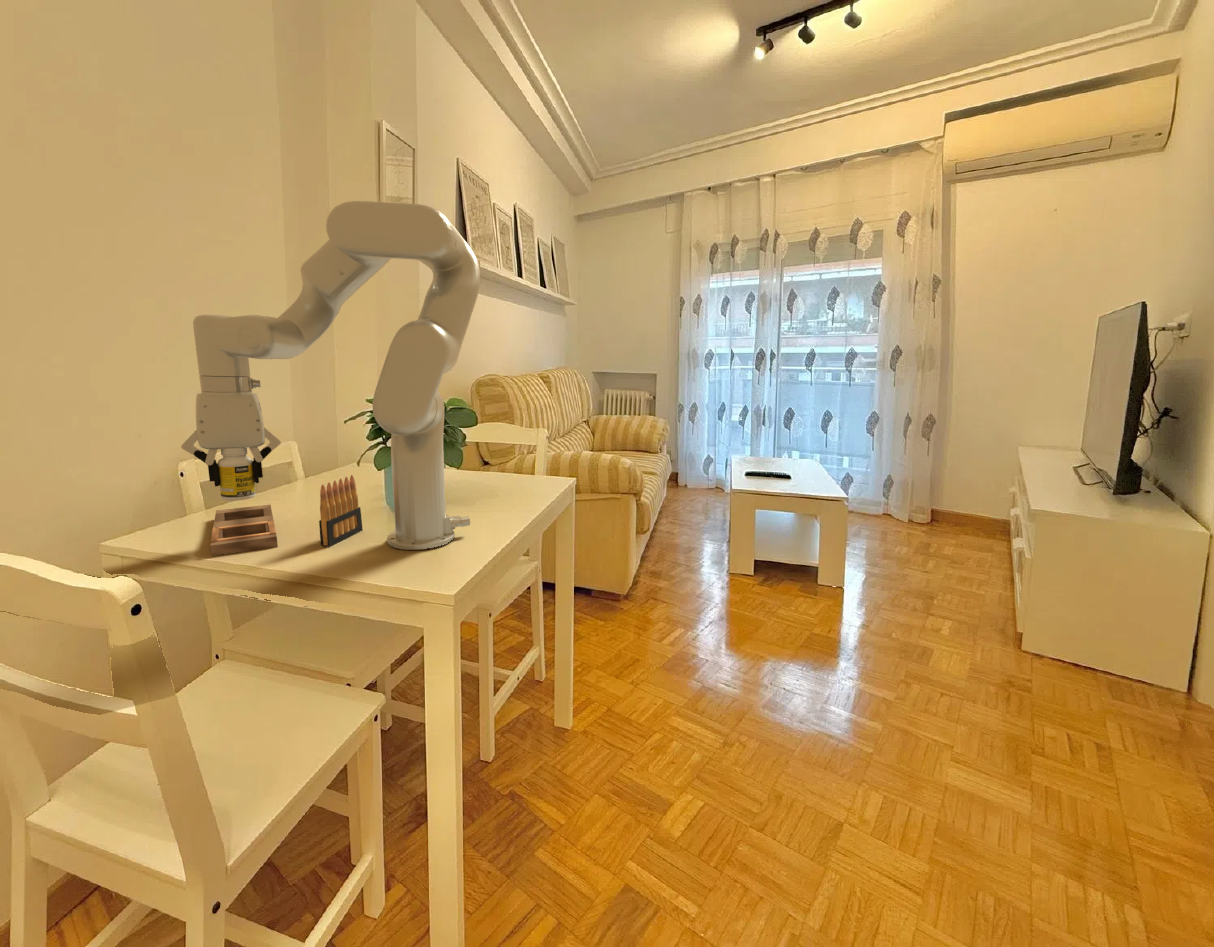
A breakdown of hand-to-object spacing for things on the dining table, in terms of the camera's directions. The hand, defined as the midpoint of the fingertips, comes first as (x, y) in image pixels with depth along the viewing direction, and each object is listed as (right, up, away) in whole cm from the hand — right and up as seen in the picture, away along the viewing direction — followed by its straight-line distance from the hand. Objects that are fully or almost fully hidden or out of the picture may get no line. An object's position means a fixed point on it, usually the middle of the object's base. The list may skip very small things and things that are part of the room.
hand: (237, 482), depth 99 cm
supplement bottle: (0, -3, +1) cm, 3 cm away
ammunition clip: (+17, -11, +6) cm, 21 cm away
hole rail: (-4, -10, +8) cm, 13 cm away
